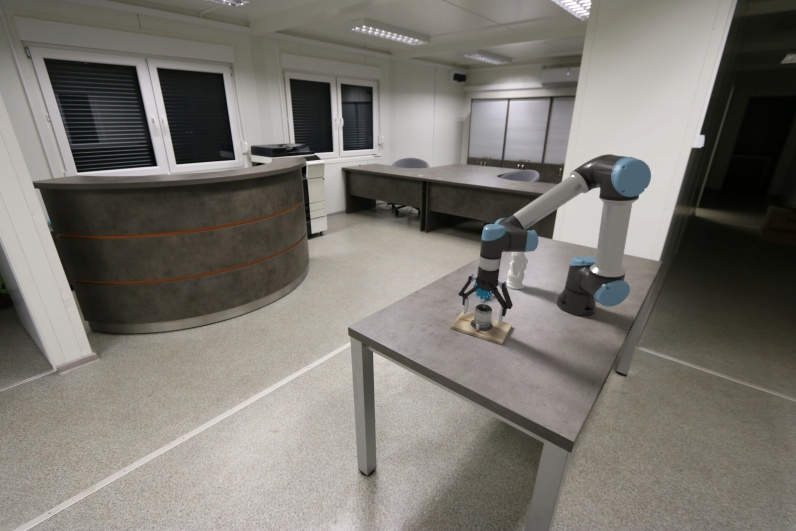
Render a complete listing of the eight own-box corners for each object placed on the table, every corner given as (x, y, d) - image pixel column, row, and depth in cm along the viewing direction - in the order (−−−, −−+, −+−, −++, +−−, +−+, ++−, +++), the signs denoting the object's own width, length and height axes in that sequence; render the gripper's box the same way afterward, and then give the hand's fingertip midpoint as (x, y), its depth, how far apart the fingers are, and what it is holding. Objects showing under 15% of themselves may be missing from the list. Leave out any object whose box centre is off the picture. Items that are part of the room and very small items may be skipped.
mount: (511, 326, 137) (512, 323, 137) (501, 344, 126) (502, 341, 126) (463, 312, 147) (463, 310, 146) (450, 328, 136) (450, 325, 135)
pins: (487, 319, 140) (488, 312, 139) (478, 332, 131) (479, 325, 130) (484, 318, 141) (485, 311, 140) (475, 331, 132) (476, 324, 131)
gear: (478, 300, 154) (472, 279, 157) (470, 304, 159) (464, 284, 162) (497, 298, 159) (490, 278, 162) (489, 302, 164) (483, 282, 167)
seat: (495, 323, 137) (495, 322, 137) (488, 333, 131) (488, 332, 131) (474, 317, 141) (474, 316, 141) (467, 326, 135) (467, 326, 134)
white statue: (515, 292, 165) (522, 249, 157) (493, 283, 174) (498, 241, 165) (529, 284, 173) (536, 243, 164) (507, 276, 181) (512, 236, 172)
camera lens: (472, 327, 134) (474, 309, 131) (474, 318, 140) (476, 301, 136) (489, 330, 132) (492, 311, 129) (490, 321, 138) (493, 304, 135)
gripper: (526, 271, 124) (517, 322, 132) (460, 256, 135) (455, 304, 143) (521, 278, 118) (512, 331, 126) (452, 263, 129) (448, 312, 137)
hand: (482, 317), depth 135 cm, fingers open, 13 cm apart
